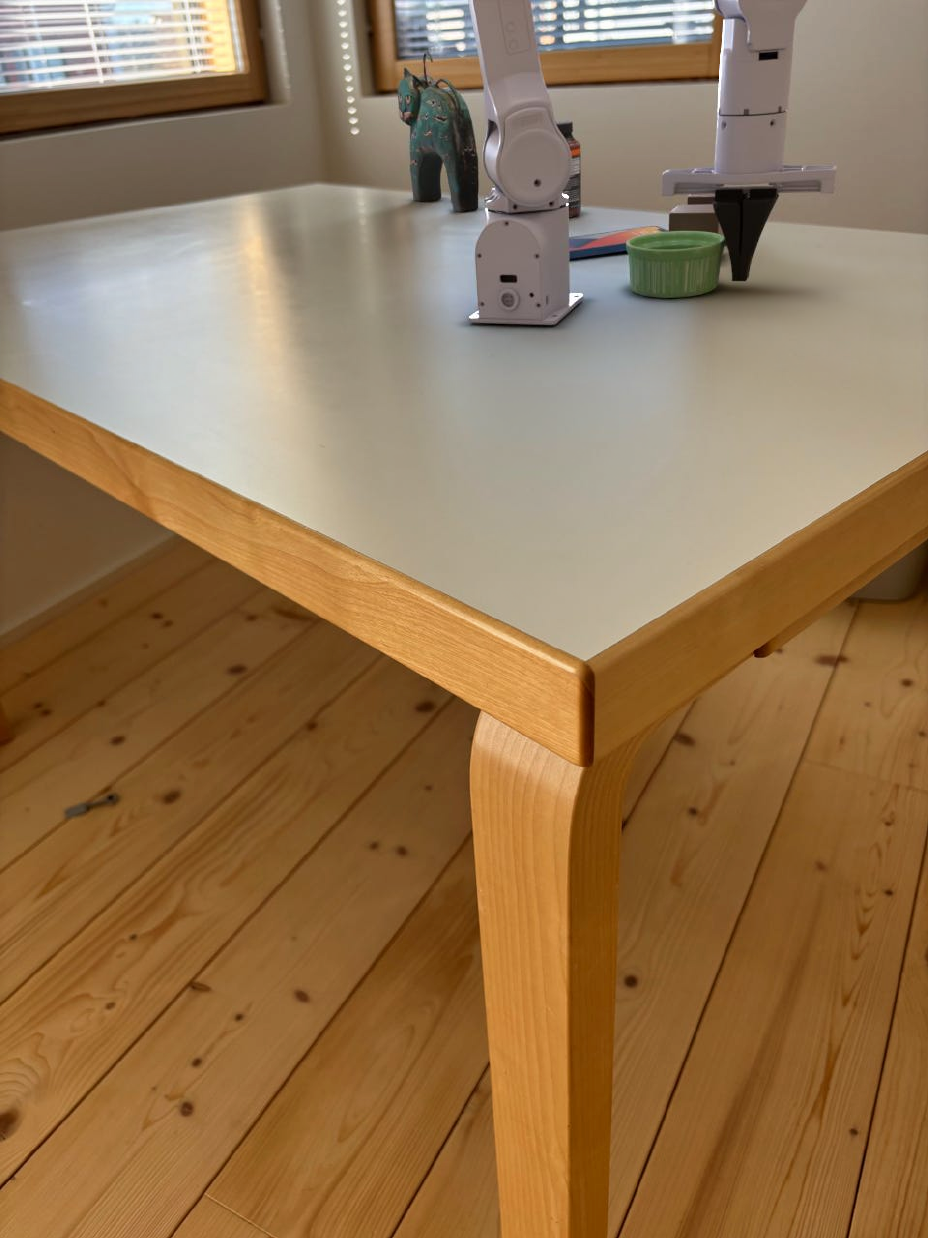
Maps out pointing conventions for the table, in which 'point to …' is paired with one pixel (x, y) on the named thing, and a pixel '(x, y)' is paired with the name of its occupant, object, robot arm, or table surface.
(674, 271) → the ramekin
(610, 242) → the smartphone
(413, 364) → the table surface
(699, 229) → the walnut block near
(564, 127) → the supplement bottle
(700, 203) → the walnut block far
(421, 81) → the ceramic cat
